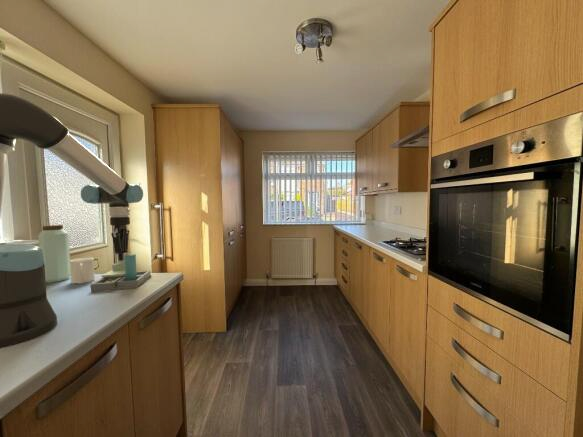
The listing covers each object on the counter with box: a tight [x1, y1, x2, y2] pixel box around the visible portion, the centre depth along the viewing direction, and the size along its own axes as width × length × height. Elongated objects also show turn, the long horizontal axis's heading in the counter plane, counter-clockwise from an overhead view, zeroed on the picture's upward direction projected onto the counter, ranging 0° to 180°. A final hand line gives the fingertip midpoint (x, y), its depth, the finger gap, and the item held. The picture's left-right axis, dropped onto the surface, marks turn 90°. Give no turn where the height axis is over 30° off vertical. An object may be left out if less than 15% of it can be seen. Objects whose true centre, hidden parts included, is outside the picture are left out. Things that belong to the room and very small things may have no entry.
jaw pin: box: [124, 253, 137, 281], centre depth 106 cm, size 4×4×12 cm
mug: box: [70, 256, 96, 284], centre depth 111 cm, size 8×12×10 cm, turn 36°
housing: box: [90, 270, 152, 293], centre depth 109 cm, size 18×16×3 cm
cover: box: [101, 263, 125, 278], centre depth 111 cm, size 9×8×4 cm
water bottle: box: [37, 224, 71, 284], centre depth 115 cm, size 10×10×25 cm
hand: (122, 266), depth 117 cm, fingers closed
